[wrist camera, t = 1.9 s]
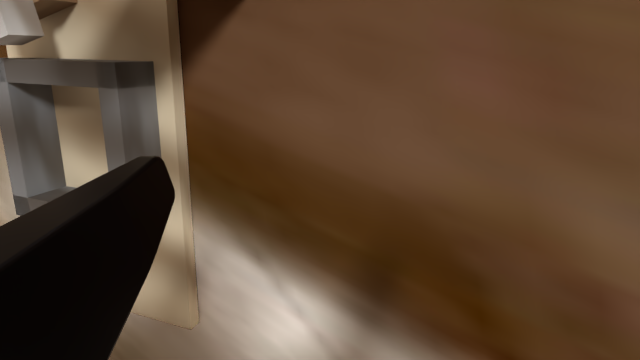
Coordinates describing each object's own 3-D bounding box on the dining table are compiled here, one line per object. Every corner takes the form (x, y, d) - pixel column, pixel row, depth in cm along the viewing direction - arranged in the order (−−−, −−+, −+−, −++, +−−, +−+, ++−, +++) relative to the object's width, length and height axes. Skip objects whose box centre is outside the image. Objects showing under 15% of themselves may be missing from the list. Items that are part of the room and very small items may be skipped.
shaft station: (199, 322, 27) (144, 370, 23) (58, 282, 32) (-9, 317, 28) (171, -83, 21) (90, -115, 17) (1, -64, 26) (-96, -86, 21)
